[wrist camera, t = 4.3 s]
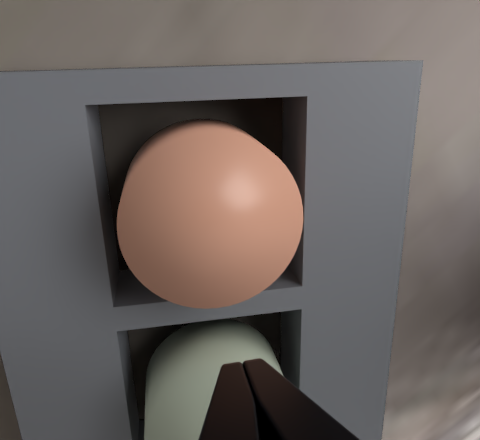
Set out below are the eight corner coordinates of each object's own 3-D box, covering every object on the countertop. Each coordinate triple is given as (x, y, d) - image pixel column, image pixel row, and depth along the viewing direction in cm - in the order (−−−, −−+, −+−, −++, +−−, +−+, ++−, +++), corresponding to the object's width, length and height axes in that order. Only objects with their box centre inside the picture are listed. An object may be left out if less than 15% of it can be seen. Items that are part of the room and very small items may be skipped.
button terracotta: (277, 114, 16) (305, 127, 13) (276, 258, 18) (301, 298, 15) (114, 122, 15) (105, 137, 12) (132, 272, 17) (128, 318, 14)
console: (380, 60, 17) (423, 60, 15) (344, 511, 26) (367, 564, 23) (-29, 72, 15) (-70, 74, 12) (80, 563, 24) (70, 631, 21)
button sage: (276, 310, 18) (299, 358, 15) (275, 416, 20) (296, 477, 17) (139, 327, 17) (136, 381, 15) (152, 436, 19) (151, 504, 16)
